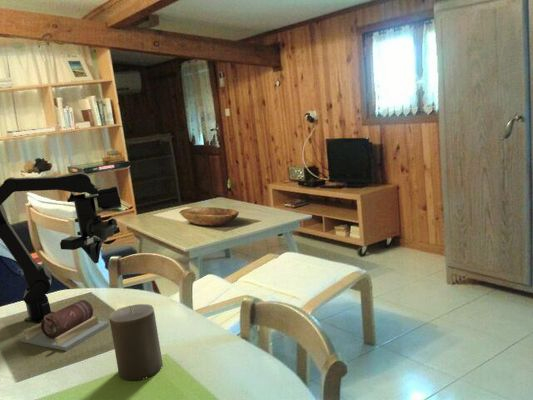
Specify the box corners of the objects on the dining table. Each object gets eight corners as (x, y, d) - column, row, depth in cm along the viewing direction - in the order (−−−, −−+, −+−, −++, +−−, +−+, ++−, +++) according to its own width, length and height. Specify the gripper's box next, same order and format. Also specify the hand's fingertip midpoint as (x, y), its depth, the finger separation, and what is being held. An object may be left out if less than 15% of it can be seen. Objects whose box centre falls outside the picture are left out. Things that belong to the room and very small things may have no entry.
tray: (21, 341, 134) (18, 331, 134) (64, 318, 147) (62, 309, 146) (66, 350, 126) (64, 339, 125) (109, 325, 138) (107, 315, 137)
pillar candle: (140, 384, 105) (129, 318, 103) (109, 375, 111) (98, 312, 108) (172, 362, 113) (162, 300, 111) (141, 355, 119) (131, 295, 116)
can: (85, 294, 143) (48, 311, 130) (97, 312, 142) (61, 331, 129) (72, 305, 145) (35, 323, 132) (85, 323, 144) (48, 343, 131)
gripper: (81, 222, 138) (91, 275, 141) (128, 206, 154) (136, 254, 157) (54, 221, 144) (64, 273, 147) (102, 206, 160) (111, 253, 163)
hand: (96, 263), depth 153 cm, fingers closed
